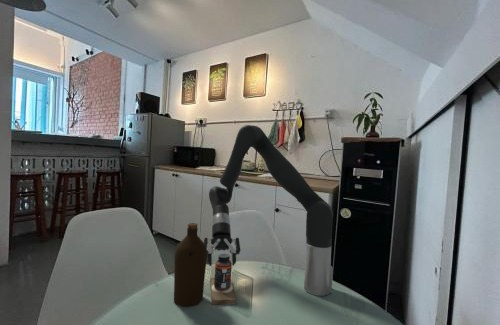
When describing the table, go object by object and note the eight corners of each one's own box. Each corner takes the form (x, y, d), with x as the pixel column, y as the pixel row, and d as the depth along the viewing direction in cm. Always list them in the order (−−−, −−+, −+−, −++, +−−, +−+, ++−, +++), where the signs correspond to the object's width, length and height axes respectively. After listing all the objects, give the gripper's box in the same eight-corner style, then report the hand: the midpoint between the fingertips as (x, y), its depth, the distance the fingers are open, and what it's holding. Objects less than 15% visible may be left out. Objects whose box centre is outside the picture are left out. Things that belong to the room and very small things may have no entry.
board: (230, 281, 95) (230, 276, 95) (236, 303, 80) (236, 298, 80) (209, 281, 94) (210, 277, 94) (211, 305, 78) (212, 300, 78)
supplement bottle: (227, 292, 84) (229, 259, 84) (211, 289, 85) (213, 257, 85) (232, 284, 89) (234, 253, 90) (217, 282, 91) (218, 251, 91)
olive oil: (210, 301, 80) (214, 225, 81) (180, 312, 73) (185, 229, 74) (194, 288, 88) (198, 219, 89) (166, 297, 81) (170, 222, 82)
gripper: (204, 221, 98) (203, 261, 86) (239, 221, 101) (242, 260, 89) (203, 230, 103) (202, 269, 91) (236, 231, 106) (239, 268, 94)
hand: (222, 264), depth 90 cm, fingers open, 8 cm apart
